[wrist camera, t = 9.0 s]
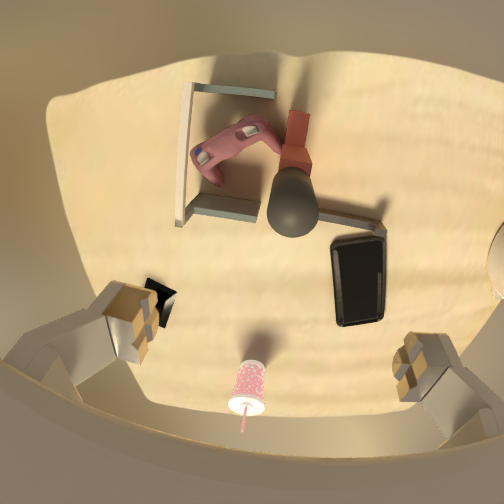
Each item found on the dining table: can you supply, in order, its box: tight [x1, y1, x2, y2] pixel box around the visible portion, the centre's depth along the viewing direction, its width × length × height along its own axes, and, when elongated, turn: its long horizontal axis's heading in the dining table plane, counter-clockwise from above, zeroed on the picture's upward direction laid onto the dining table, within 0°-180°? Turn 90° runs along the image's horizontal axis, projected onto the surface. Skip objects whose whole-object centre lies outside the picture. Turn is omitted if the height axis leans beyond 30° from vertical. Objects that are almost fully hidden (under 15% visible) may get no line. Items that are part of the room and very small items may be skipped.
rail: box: [318, 208, 387, 238], centre depth 36 cm, size 14×1×3 cm, turn 83°
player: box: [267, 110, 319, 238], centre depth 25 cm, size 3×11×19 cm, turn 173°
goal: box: [175, 82, 277, 227], centre depth 30 cm, size 8×15×9 cm, turn 173°
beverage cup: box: [228, 360, 265, 432], centre depth 46 cm, size 6×6×14 cm
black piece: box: [144, 278, 177, 328], centre depth 46 cm, size 12×7×5 cm, turn 155°
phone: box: [330, 235, 386, 327], centre depth 41 cm, size 8×1×15 cm
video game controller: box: [190, 114, 282, 187], centre depth 32 cm, size 10×5×7 cm, turn 120°
